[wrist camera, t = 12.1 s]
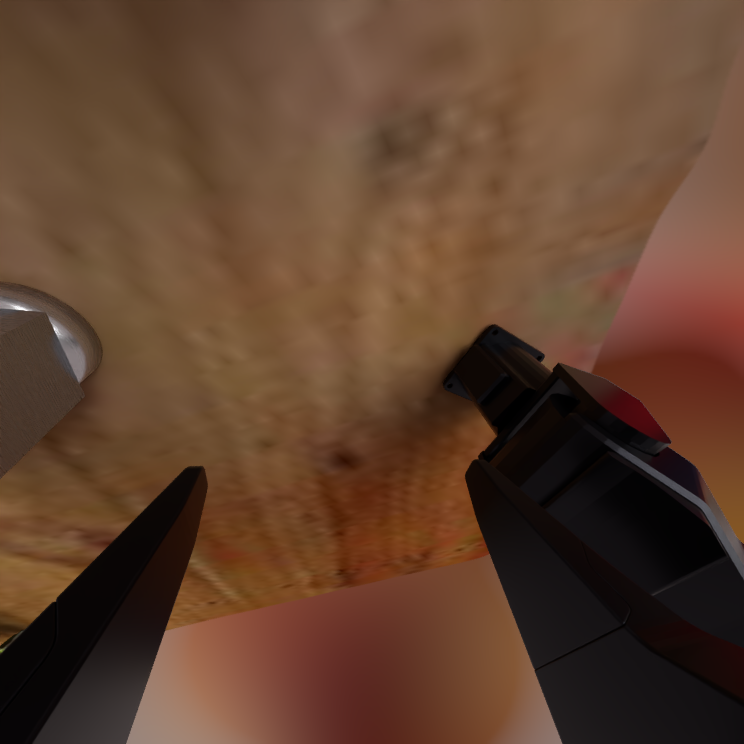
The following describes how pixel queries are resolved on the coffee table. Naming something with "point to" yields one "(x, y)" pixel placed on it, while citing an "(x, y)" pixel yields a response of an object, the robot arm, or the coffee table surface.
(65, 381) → the grey round knob
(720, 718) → the robot arm
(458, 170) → the coffee table surface
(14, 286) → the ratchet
